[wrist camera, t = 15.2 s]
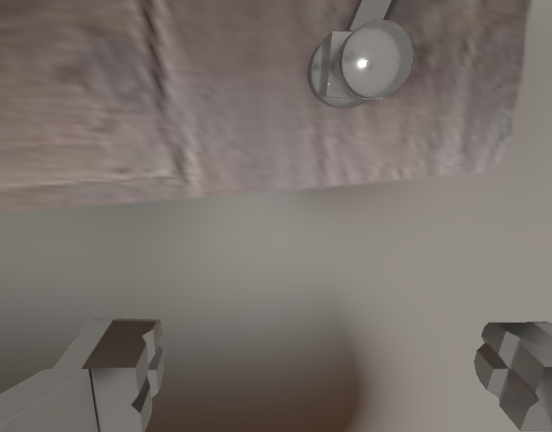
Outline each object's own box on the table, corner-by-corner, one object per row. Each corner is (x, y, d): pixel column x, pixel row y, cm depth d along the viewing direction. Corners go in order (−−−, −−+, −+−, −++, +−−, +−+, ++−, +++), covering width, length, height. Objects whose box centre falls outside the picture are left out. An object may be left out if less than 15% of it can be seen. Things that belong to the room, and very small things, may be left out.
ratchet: (354, 117, 37) (371, 120, 32) (297, 91, 36) (304, 89, 31) (437, -58, 32) (473, -88, 27) (374, -95, 31) (399, -135, 26)
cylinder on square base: (317, 97, 34) (338, 96, 25) (322, 38, 32) (347, 16, 24) (369, 100, 34) (407, 100, 26) (376, 42, 32) (420, 21, 24)
